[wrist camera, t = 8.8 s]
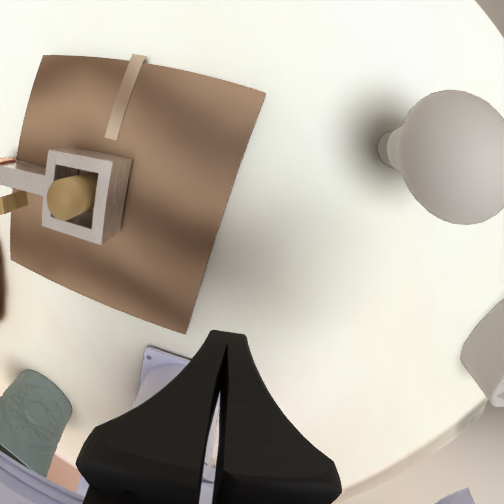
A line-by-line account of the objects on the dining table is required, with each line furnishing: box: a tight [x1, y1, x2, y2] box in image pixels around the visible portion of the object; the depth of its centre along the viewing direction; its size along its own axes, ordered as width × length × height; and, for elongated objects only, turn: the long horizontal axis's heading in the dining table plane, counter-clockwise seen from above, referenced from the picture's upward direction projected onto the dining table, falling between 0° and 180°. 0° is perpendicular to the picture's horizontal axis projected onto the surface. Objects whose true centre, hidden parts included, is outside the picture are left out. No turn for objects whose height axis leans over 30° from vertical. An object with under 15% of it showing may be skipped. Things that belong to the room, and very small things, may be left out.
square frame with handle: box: [0, 148, 132, 245], centre depth 16 cm, size 13×5×3 cm, turn 74°
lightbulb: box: [378, 90, 504, 225], centre depth 12 cm, size 6×6×11 cm
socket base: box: [0, 54, 266, 334], centre depth 16 cm, size 18×18×5 cm
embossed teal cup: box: [0, 370, 72, 478], centre depth 22 cm, size 10×10×12 cm
